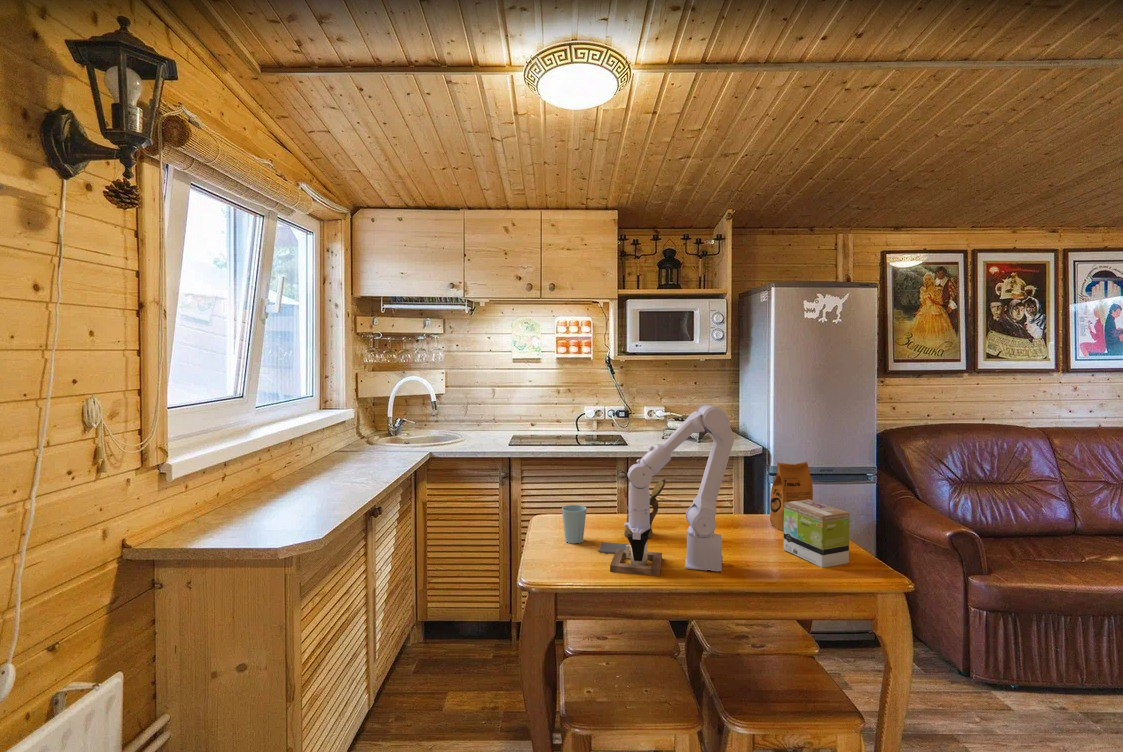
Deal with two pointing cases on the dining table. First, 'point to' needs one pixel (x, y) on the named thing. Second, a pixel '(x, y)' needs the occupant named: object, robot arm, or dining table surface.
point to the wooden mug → (653, 502)
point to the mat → (611, 547)
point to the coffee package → (789, 489)
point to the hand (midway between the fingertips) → (639, 557)
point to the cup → (574, 523)
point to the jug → (643, 562)
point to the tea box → (816, 532)
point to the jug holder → (636, 569)
